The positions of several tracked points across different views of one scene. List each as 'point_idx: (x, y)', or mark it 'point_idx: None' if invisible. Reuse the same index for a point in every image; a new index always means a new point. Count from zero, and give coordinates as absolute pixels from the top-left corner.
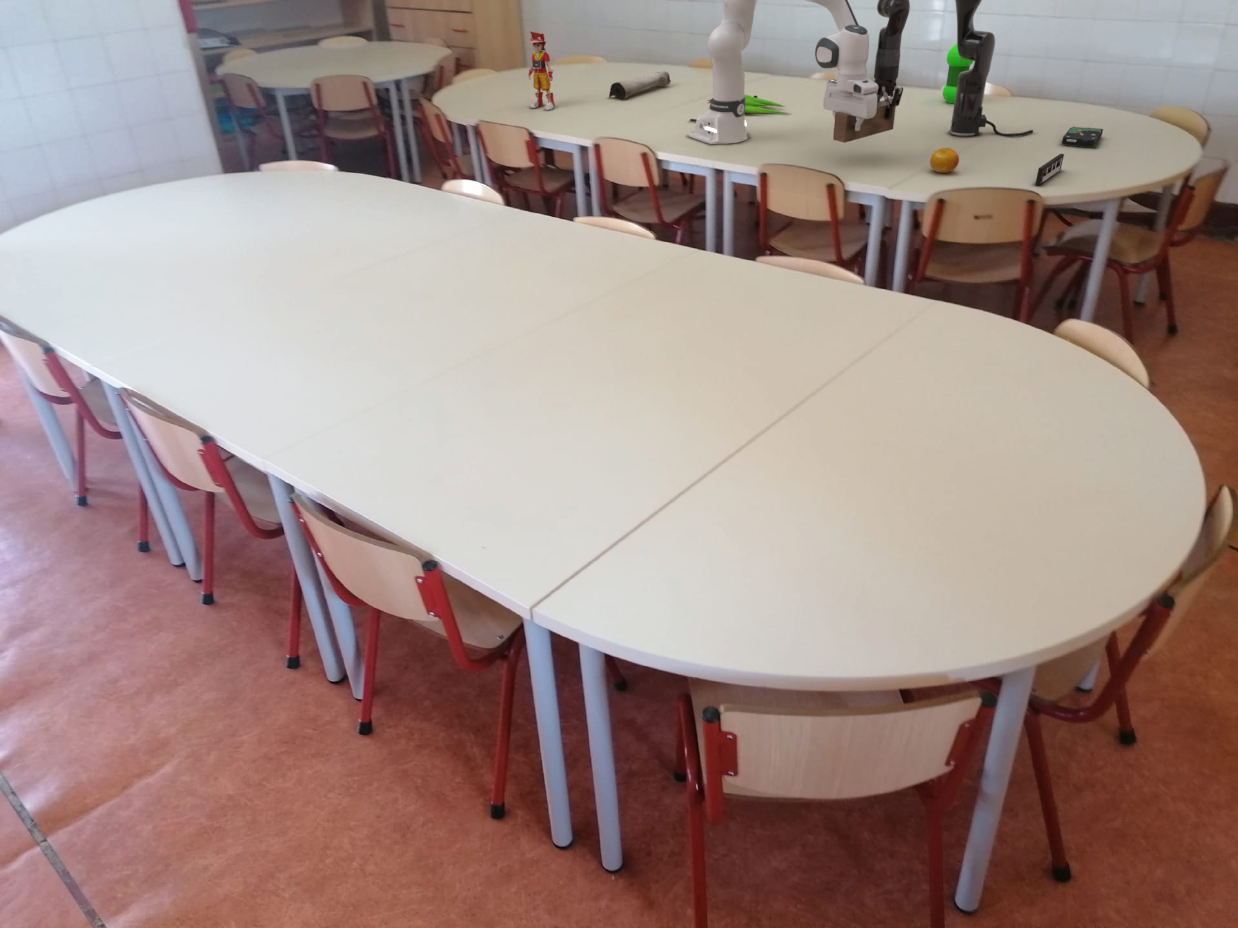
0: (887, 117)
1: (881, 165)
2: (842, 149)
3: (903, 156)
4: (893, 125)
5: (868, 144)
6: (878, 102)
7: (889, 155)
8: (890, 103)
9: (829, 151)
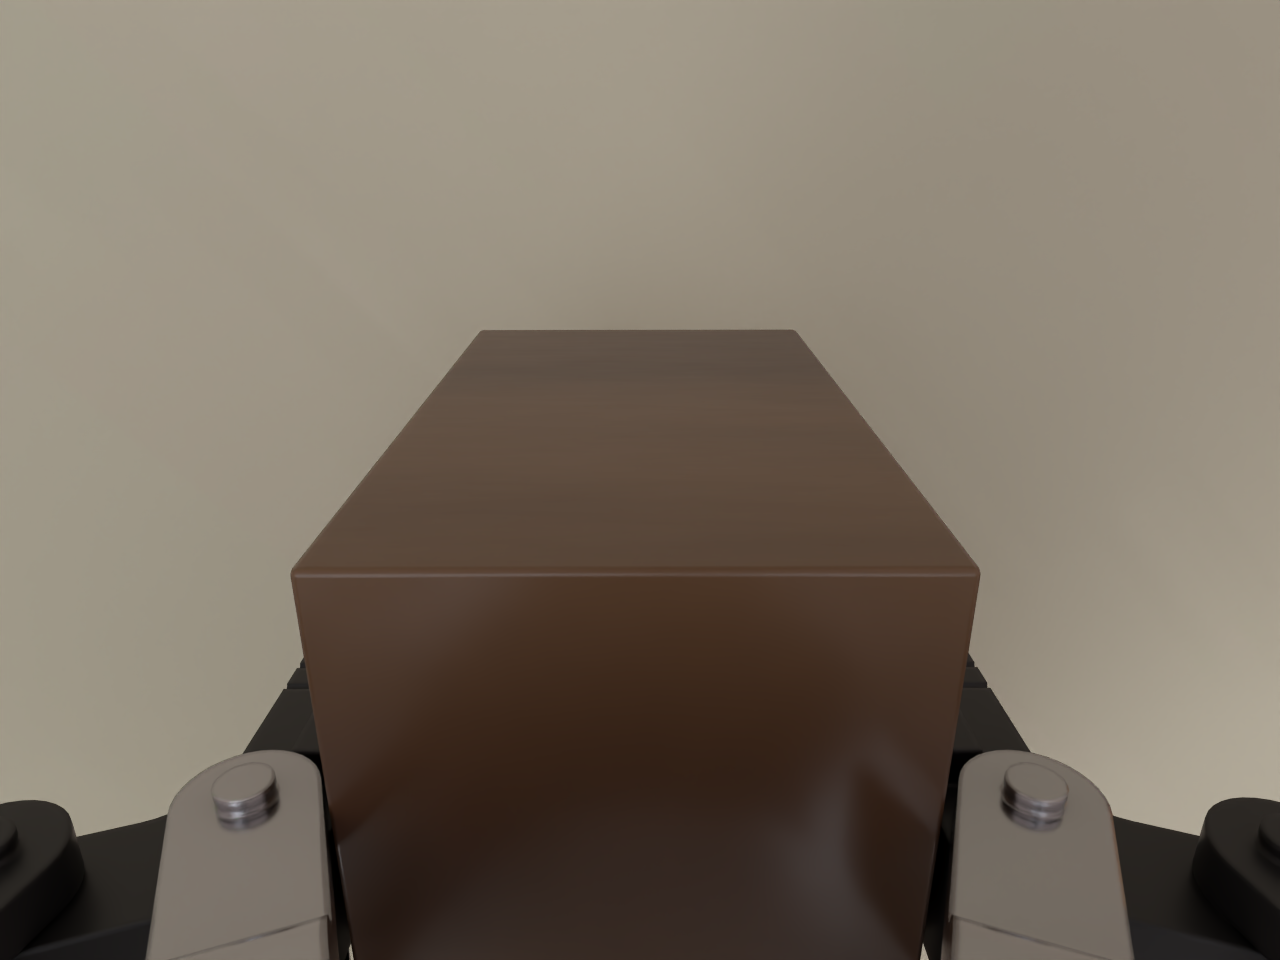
0: None
1: None
2: (187, 526)
3: (934, 206)
4: (807, 348)
5: (182, 107)
6: (438, 944)
7: (767, 306)
8: (877, 796)
9: (172, 675)
